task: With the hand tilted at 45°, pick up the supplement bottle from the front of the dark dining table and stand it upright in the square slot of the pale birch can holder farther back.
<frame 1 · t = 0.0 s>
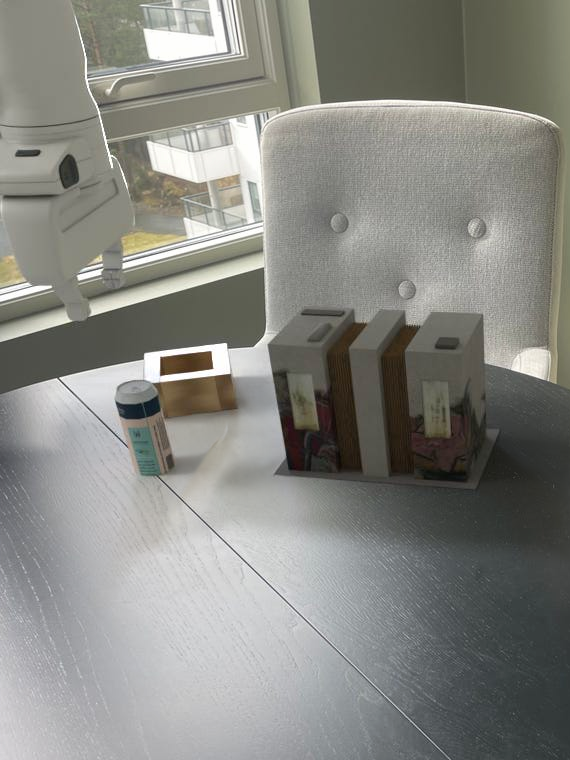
hand: (99, 302, 98), 23 cm above the table, tool pointing down, fingers open, 8 cm apart
supplement bottle: (159, 482, 117), on the table
bookend: (390, 452, 121), on the table
holder: (194, 397, 136), on the table
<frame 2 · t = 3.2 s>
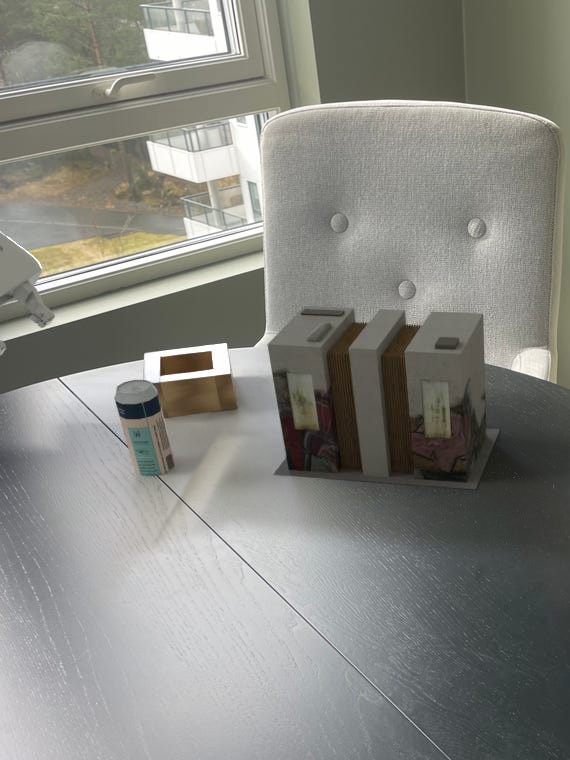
hand: (26, 337, 108), 17 cm above the table, tool tilted 45°, fingers open, 8 cm apart
nothing on the table moved.
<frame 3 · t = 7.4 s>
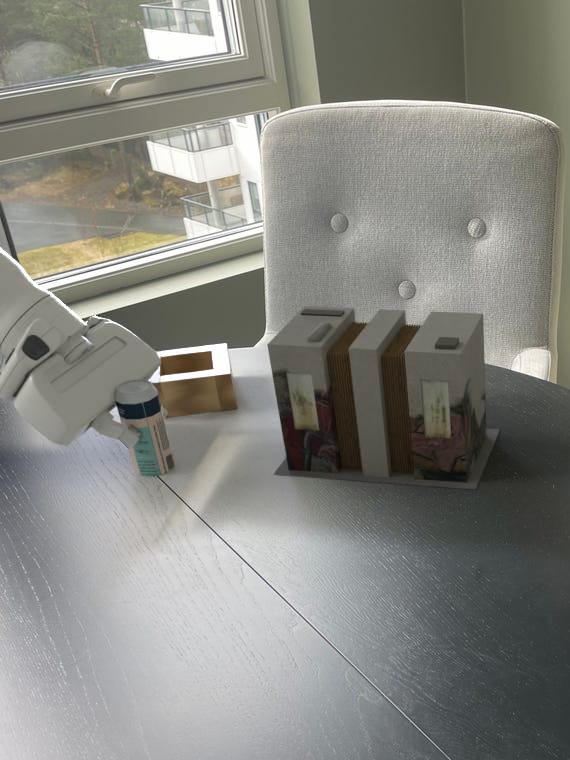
hand: (150, 431, 112), 7 cm above the table, tool tilted 45°, fingers closed on supplement bottle, 5 cm apart
supplement bottle: (159, 482, 117), on the table, touching gripper
everything else where it was.
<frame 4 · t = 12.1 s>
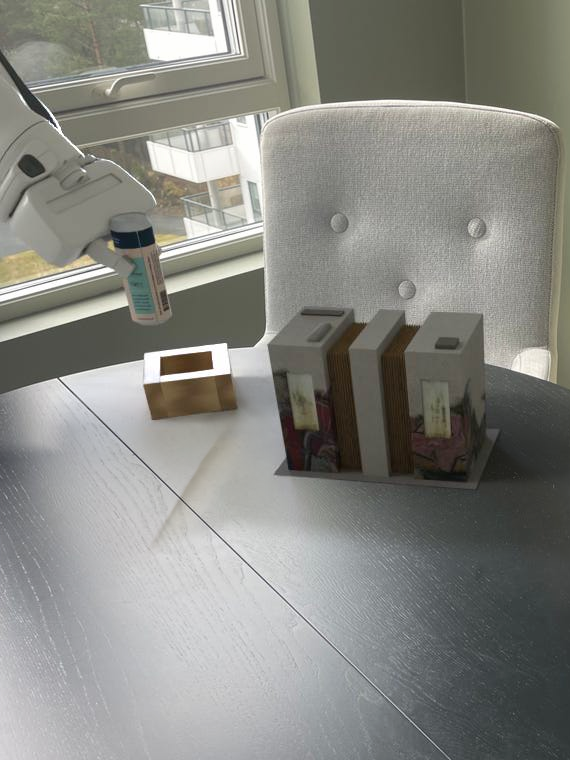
hand: (144, 265, 114), 21 cm above the table, tool tilted 45°, fingers closed on supplement bottle, 5 cm apart
supplement bottle: (153, 321, 118), point 14 cm above the table, touching gripper
everything else where it was.
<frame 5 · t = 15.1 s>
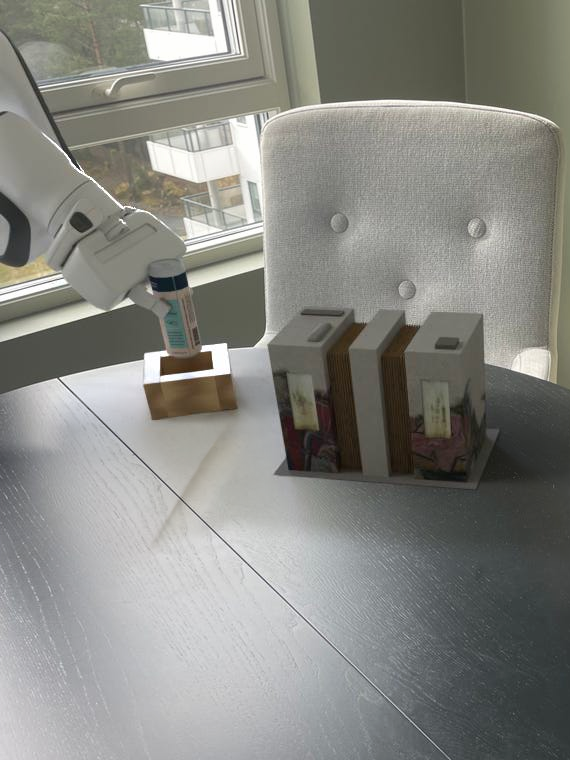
hand: (178, 305, 128), 13 cm above the table, tool tilted 45°, fingers closed on supplement bottle, 5 cm apart
supplement bottle: (185, 354, 132), point 6 cm above the table, touching gripper
everything else where it was.
when the fingers open (7 cm above the table, at t = 17.2 s): supplement bottle stays where it is, resting in holder.
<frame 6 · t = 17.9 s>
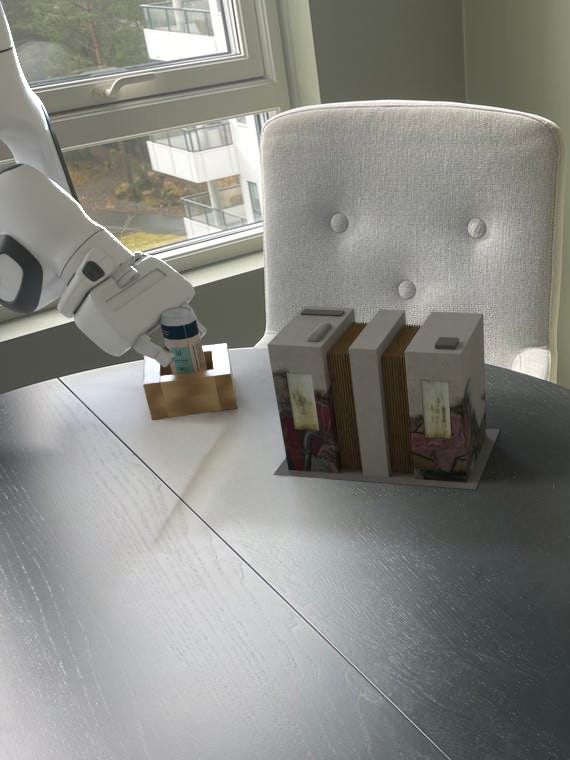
hand: (187, 349, 131), 7 cm above the table, tool tilted 45°, fingers open, 8 cm apart
supplement bottle: (195, 398, 136), resting in holder
everything else where it was.
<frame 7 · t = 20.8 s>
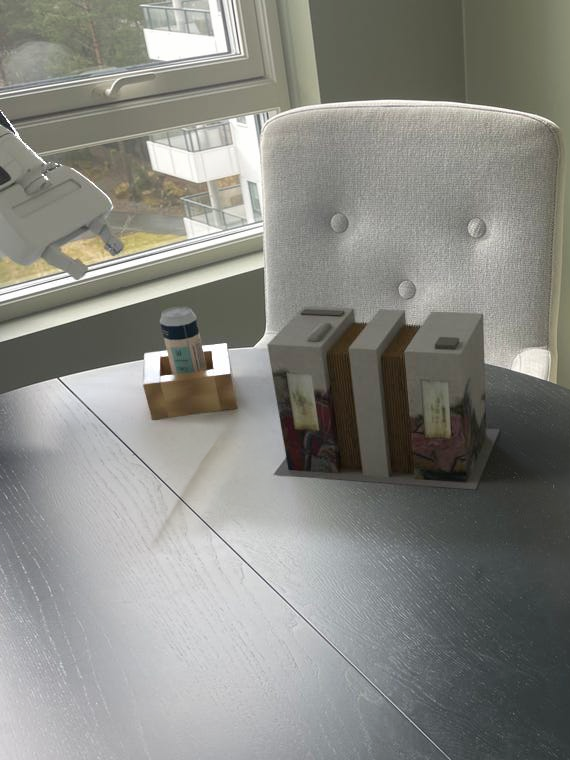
hand: (102, 263, 127), 18 cm above the table, tool tilted 45°, fingers open, 8 cm apart
nothing on the table moved.
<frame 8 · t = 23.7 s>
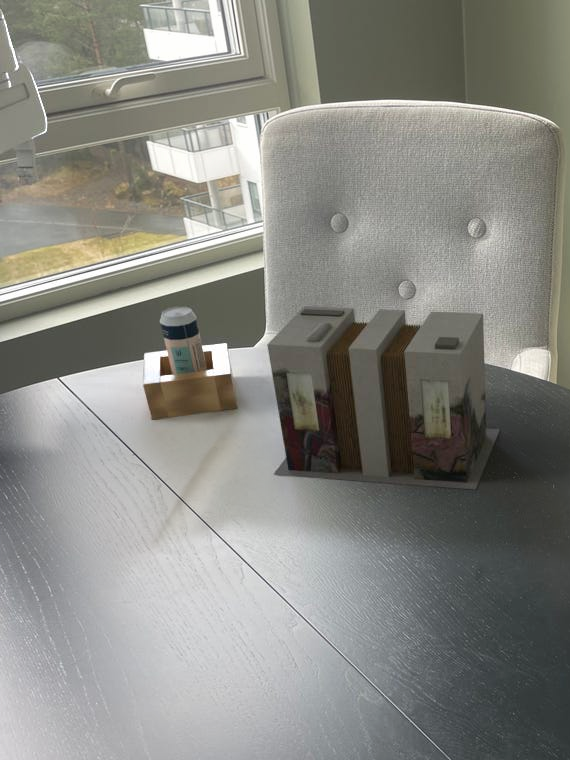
hand: (12, 194, 111), 29 cm above the table, tool pointing down, fingers open, 8 cm apart
nothing on the table moved.
at the end: supplement bottle 0.2 cm off-centre in the holder, point 0.0 cm above the holder's base; supplement bottle tilted 0°; the gripper is holding nothing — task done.
